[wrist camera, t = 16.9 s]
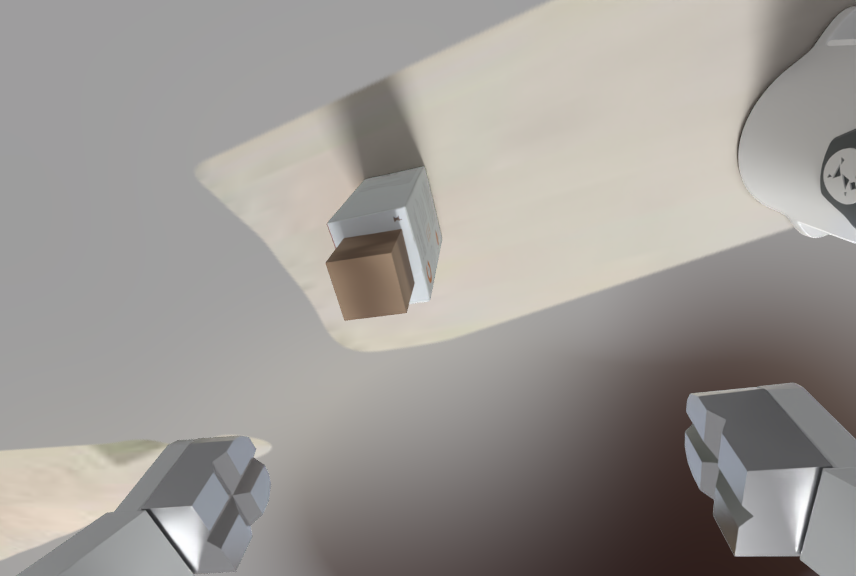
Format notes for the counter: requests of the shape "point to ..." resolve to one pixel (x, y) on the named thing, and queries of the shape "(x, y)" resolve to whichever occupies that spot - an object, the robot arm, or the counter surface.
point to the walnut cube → (372, 275)
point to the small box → (396, 221)
